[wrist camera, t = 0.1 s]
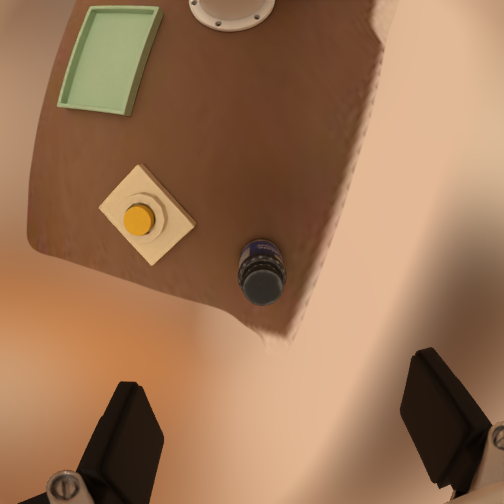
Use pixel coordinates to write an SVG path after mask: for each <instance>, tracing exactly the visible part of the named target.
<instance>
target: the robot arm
mask: <svg viewBox="0 0 504 504" xmlns="http://www.w3.org/2000/svg"><path fill="white" fill-rule="evenodd" d="M194 4H196V5H194ZM274 4H275V0H189V5H190V9H191V11H192V13H193V15H194V16H195V18H196V19H197V20H198V21H199V22H200V23H202V24H203V25H205V26H207V27H209V28H211V29H214V30H219V31H226V32H234V31H242V30H246V29H249V28H251V27H254V26H256V25H258V24H259V23H261V22H262V21H264V20H265V19H266V18H267V17H268V16H269V14H270V13H271V12H272V9H273V7H274ZM256 18H258V20H256ZM217 25H220V26H217ZM400 414H401V417H402V419H403V421H404V423H405V425H406V427H407V430H408V432H409V434H410V436H411V438H412V440H413V442H414V444H415V446H416V448H417V451H418V453H419V455H420V457H421V459H422V461H423V463H424V466H425V468H426V470H427V472H428V475H429V477H430V479H431V481H432V482H433V483H437V485H438V487H439V489H440V488H443V487H445V486H448V485H450V484H451V486H452V488H453V490H454V491H453V493H452V496H451V499H450V501H449V502H446V503H444V504H504V421H502V422H498V423H496V424H495V425H492V424H491V423H490V421H489V420H488V418H487V417H486V416H485V414H484V413H483V411H482V410H481V409H480V407H479V406H478V404H477V403H476V402H475V400H474V399H473V398H472V396H471V395H470V394H469V392H468V391H467V390H466V389H465V387H464V386H463V384H462V383H461V382H460V380H459V379H458V378H457V377H455V375H454V374H453V372H452V371H451V370H450V369H449V367H448V366H447V365H446V363H445V362H444V361H443V360H442V358H441V357H440V356H439V355H438V353H437V352H436V351H435V350H434V349H433V348H432V347H430V348H426V349H422V350H419V351H417V352H416V353H415V356H412V358H411V363H410V368H409V373H408V377H407V382H406V386H405V391H404V395H403V399H402V403H401V407H400ZM163 444H164V436H163V433H162V431H161V429H160V426H159V424H158V422H157V420H156V417H155V415H154V413H153V411H152V408H151V406H150V404H149V401H148V399H147V397H146V394H145V392H144V389H143V387H142V386H139V385H138V384H137V383H136V382H123V381H121V382H120V383H119V384H118V386H117V388H116V390H115V392H114V394H113V396H112V398H111V400H110V402H109V404H108V406H107V408H106V410H105V413H104V415H103V416H102V417H101V418H100V420H99V422H98V424H97V426H96V428H95V430H94V432H93V434H92V437H91V439H90V441H89V443H88V446H87V448H86V450H85V452H84V454H83V456H82V459H81V461H80V463H79V466H78V468H77V470H76V472H74V471H71V470H62V471H59V472H57V473H55V474H53V475H52V476H51V477H50V478H49V480H48V482H47V485H46V491H47V492H45V493H43V494H40V495H38V496H35V497H33V498H30V499H28V500H25V501H23V502H20V503H18V504H149V502H150V497H151V492H152V489H153V485H154V480H155V476H156V472H157V468H158V464H159V459H160V456H161V452H162V448H163Z"/></svg>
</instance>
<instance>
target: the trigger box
mask: <svg viewBox="0 0 504 504" xmlns="http://www.w3.org/2000/svg"><path fill="white" fill-rule="evenodd" d="M140 204H141V205H145V206H147V207H149V208H150V209H151V210H152V212H153V214H154V224H153V227H152V228H151V229H150V230H149V231H148V232H147V233H145V234H144V235H141V236H135V235H132V234H131V233H129V232H128V231H127V230H126V228H125V226H124V215H125V213H126V211H127V210H128V209H130V208H131V207H133V206H135V205H140ZM99 209H100V210H101V211H102V212H103V213H104V214H105V215H106V217H107V218H108V219H109V220H110V221H111V222H112V223H113V224H114V226H115V227H116V228H117V229H118V230H119V231H120V232H121V233H122V234H123V236H124V237H125V238H126V239H127V240H128V241H129V242H130V243H131V244H132V245H133V246H134V248H135V249H136V250H137V251H138V252H139V253H140V254H141V255H142V256H143V257H144V258H145V259H146V260H147V261H148V262H149V263H150V265H151V266H153V265H154V264H155V263H156V262H157V261H158V260H159V259H160V258H161V257H162V256H163V255H164V254H166V253H167V252H168V251H169V250H170V249H171V248H172V247H173V246H174V245H175V244H176V243H177V242H178V241H180V240H181V239H182V238H183V237H184V236H185V235H186V234H187V233H188V232H189V231H190V230H192V229H193V228H194V227H195V225H196V224H197V223H196V222H195V221H194V220H193V218H192V217H191V216H190V215H189V214H188V213H187V212H186V211H185V210H184V209H183V208H182V206H181V205H180V204H179V203H178V202H177V201H176V200H175V199H174V198H173V197H172V195H171V194H170V193H169V192H168V191H167V190H166V189H165V188H164V187H163V186H162V184H161V183H160V182H159V181H158V180H157V179H156V178H155V177H154V176H153V174H152V173H151V172H150V171H149V170H148V169H147V168H146V167H145V166H144V164H138V165H137V166H136V167H135V168H134V169H133V170H132V171H131V172H130V173H129V174H128V175H127V176H126V177H125V179H124V180H123V181H122V182H121V183H120V184H119V185H118V186H117V187H116V188H115V190H114V191H113V192H112V193H111V194H110V195H109V196H108V197H107V199H106V200H105V201H104V202H103V203H102V204H101V205H100V207H99Z"/></svg>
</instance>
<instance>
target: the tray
mask: <svg viewBox="0 0 504 504" xmlns="http://www.w3.org/2000/svg"><path fill="white" fill-rule="evenodd" d="M163 15H164V13H163V12H162V10H161V9H160V7H153V6H90V7H89V10H88V12H87V14H86V17H85V19H84V22H83V24H82V27H81V29H80V32H79V35H78V37H77V40H76V43H75V46H74V49H73V52H72V55H71V58H70V61H69V64H68V67H67V70H66V74H65V77H64V80H63V84H62V88H61V91H60V95H59V99H58V103H57V107H62V108H69V109H79V110H87V111H95V112H103V113H110V114H117V115H124V116H131V113H132V109H133V105H134V102H135V98H136V94H137V91H138V88H139V84H140V81H141V78H142V74H143V71H144V68H145V65H146V62H147V59H148V56H149V53H150V50H151V47H152V44H153V41H154V38H155V36H156V33H157V30H158V28H159V25H160V22H161V20H162V17H163Z"/></svg>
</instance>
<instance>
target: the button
mask: <svg viewBox="0 0 504 504" xmlns="http://www.w3.org/2000/svg"><path fill="white" fill-rule="evenodd" d="M153 224H154V214H153V212H152V210H151V209H150V208H149V207H147V206H145V205H141V204H140V205H135V206H133V207H131V208H130V209H128V210H127V211H126V213H125V215H124V226H125V228H126V230H127V231H128V232H129V233H131V234H132V235H135V236H141V235H144V234H145V233H147V232H148V231H149V230H150V229H151V228H152V227H153Z"/></svg>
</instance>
